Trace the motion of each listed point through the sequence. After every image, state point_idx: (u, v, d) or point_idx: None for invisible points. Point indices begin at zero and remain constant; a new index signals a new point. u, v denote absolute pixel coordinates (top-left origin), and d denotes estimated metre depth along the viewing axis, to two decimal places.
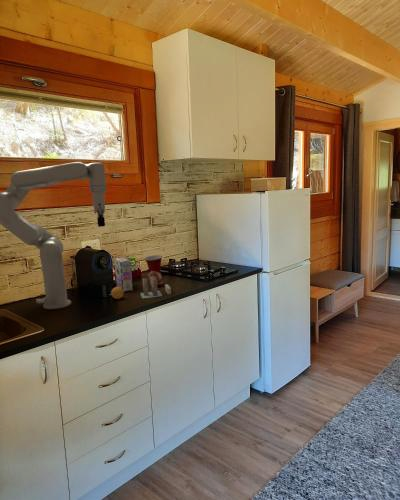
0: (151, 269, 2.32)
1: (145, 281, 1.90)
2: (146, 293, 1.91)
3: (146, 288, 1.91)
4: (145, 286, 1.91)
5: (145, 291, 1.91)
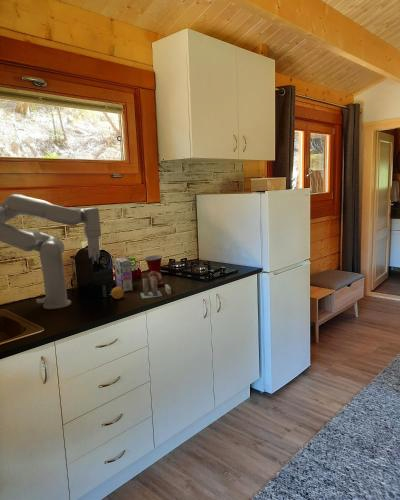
0: (151, 269, 2.32)
1: (145, 281, 1.90)
2: (146, 293, 1.91)
3: (146, 288, 1.91)
4: (145, 286, 1.91)
5: (145, 291, 1.91)
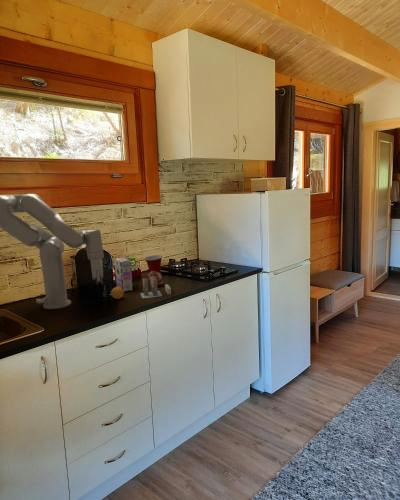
0: (151, 269, 2.32)
1: (145, 281, 1.90)
2: (146, 293, 1.91)
3: (146, 288, 1.91)
4: (145, 286, 1.91)
5: (145, 291, 1.91)
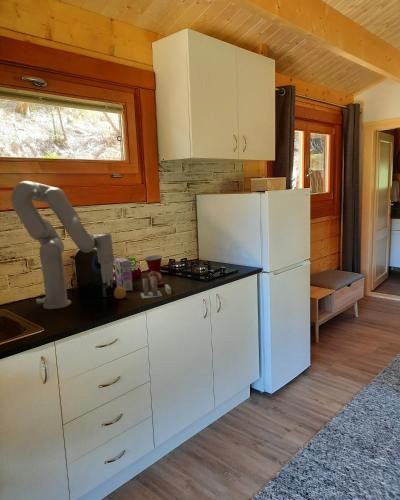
0: (151, 269, 2.32)
1: (145, 281, 1.90)
2: (146, 293, 1.91)
3: (146, 288, 1.91)
4: (145, 286, 1.91)
5: (145, 291, 1.91)
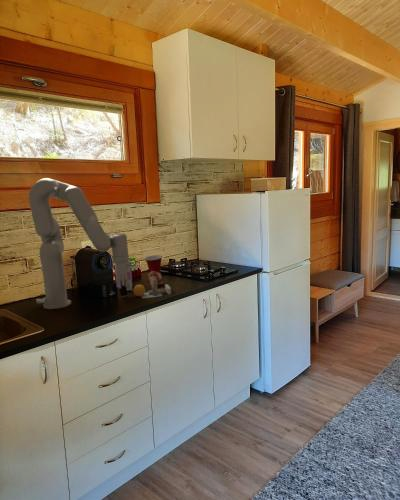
0: (151, 269, 2.32)
1: (163, 291, 1.93)
2: (151, 293, 1.92)
3: None
4: (158, 292, 1.93)
5: None
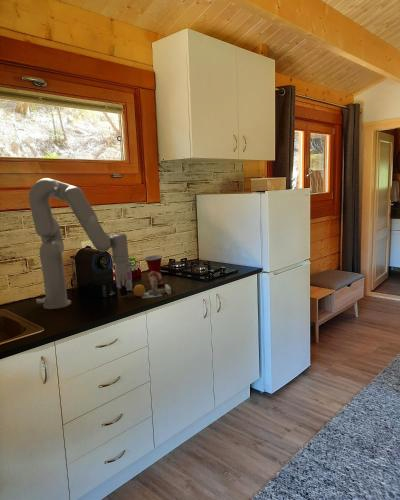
0: (151, 269, 2.32)
1: (163, 292, 1.93)
2: (151, 293, 1.92)
3: None
4: (158, 292, 1.93)
5: None
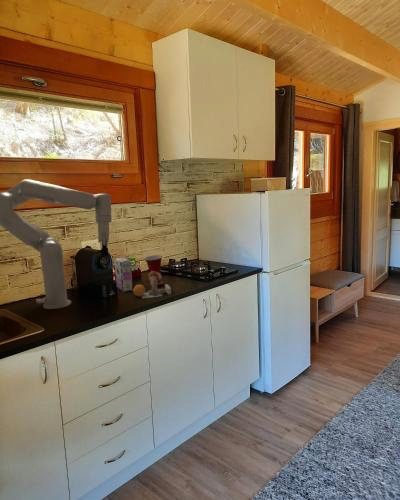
0: (151, 269, 2.32)
1: (163, 292, 1.93)
2: (151, 293, 1.92)
3: None
4: (158, 292, 1.93)
5: None
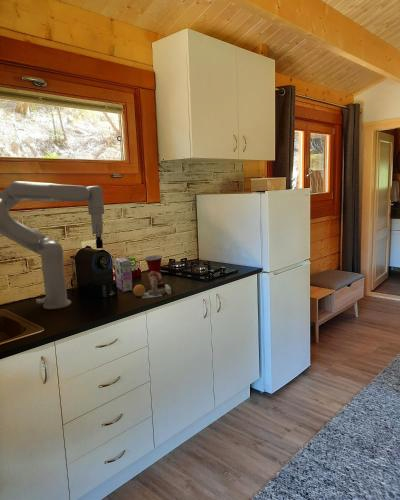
0: (151, 269, 2.32)
1: (163, 292, 1.93)
2: (151, 293, 1.92)
3: None
4: (158, 292, 1.93)
5: None
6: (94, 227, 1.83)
